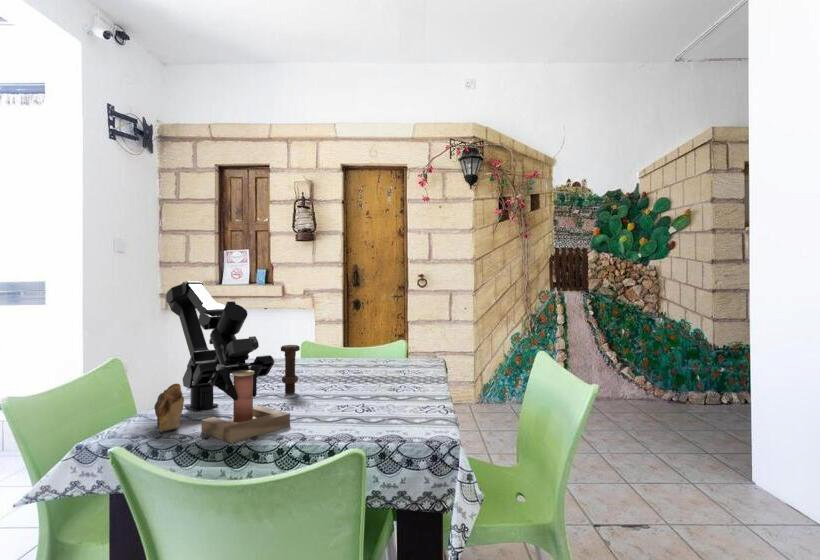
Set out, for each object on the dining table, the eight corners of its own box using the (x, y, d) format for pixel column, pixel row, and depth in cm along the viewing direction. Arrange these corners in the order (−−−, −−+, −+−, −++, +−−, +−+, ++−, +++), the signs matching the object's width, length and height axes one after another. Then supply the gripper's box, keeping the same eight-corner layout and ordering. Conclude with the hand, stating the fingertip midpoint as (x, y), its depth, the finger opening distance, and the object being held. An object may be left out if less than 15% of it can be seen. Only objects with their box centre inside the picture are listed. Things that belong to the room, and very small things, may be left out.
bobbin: (227, 422, 116) (227, 371, 116) (254, 418, 119) (255, 368, 119) (230, 429, 110) (231, 375, 110) (259, 425, 113) (259, 373, 113)
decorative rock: (185, 433, 110) (185, 386, 110) (156, 437, 107) (156, 389, 107) (180, 420, 121) (180, 377, 121) (153, 423, 118) (153, 380, 118)
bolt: (293, 395, 147) (293, 347, 147) (278, 395, 148) (278, 346, 148) (301, 391, 153) (301, 344, 153) (286, 390, 154) (287, 344, 154)
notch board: (201, 432, 111) (201, 419, 111) (259, 417, 124) (260, 405, 124) (231, 443, 104) (231, 429, 104) (289, 425, 116) (290, 413, 116)
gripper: (197, 328, 111) (216, 383, 103) (271, 324, 124) (293, 372, 116) (185, 358, 116) (202, 412, 109) (256, 350, 130) (276, 398, 122)
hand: (245, 397), depth 114 cm, fingers closed on bobbin, 4 cm apart
